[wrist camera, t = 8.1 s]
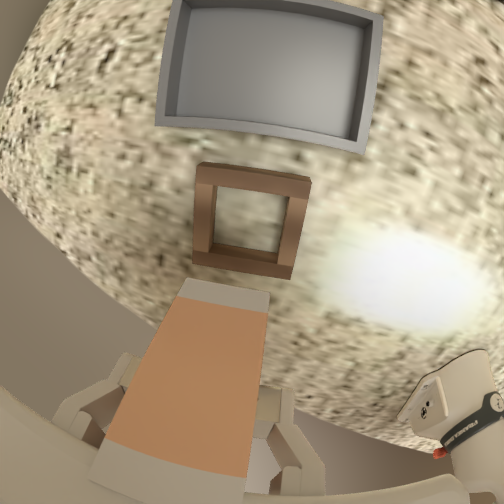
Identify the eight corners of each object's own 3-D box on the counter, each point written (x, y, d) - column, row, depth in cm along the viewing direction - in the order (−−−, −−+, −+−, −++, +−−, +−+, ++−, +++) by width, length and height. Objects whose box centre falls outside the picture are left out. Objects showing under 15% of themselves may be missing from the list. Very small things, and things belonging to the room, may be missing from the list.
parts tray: (353, 149, 21) (364, 154, 18) (171, 123, 21) (154, 126, 18) (370, 27, 15) (383, 16, 12) (188, 6, 16) (174, -7, 13)
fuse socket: (289, 268, 27) (290, 279, 25) (198, 253, 28) (192, 263, 26) (309, 177, 23) (311, 182, 21) (203, 161, 23) (196, 165, 21)
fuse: (257, 348, 14) (229, 527, 6) (188, 334, 15) (125, 499, 6) (270, 292, 13) (238, 525, 4) (187, 277, 13) (87, 477, 4)
